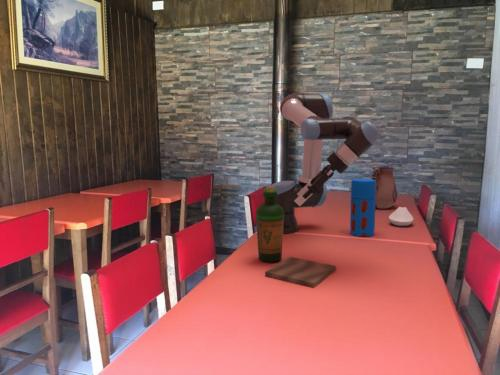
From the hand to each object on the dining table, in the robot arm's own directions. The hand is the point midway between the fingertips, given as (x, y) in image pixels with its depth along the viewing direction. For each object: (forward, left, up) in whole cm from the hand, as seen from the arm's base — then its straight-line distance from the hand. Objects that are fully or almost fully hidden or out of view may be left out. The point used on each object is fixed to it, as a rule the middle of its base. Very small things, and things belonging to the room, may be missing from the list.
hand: (298, 199), depth 144 cm
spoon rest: (+18, +81, -24) cm, 87 cm away
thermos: (+8, +49, -23) cm, 55 cm away
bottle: (-10, -4, -24) cm, 26 cm away
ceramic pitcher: (-1, +110, -24) cm, 113 cm away
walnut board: (+6, -10, -23) cm, 26 cm away
